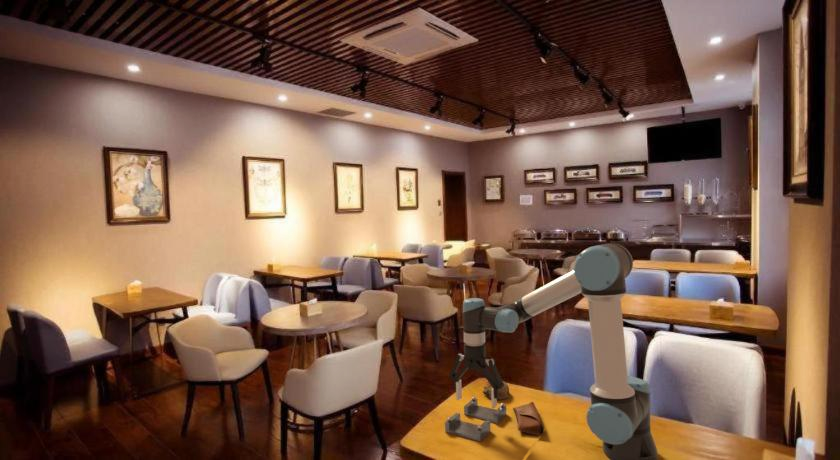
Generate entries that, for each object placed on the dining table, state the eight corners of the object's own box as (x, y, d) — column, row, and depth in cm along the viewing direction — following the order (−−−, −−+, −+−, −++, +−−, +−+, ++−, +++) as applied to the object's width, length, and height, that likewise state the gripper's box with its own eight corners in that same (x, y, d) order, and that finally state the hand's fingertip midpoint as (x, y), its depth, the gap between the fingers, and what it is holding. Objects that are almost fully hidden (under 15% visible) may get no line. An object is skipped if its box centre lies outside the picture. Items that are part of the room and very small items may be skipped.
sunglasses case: (511, 406, 163) (522, 393, 163) (526, 418, 163) (537, 404, 163) (517, 430, 146) (530, 415, 145) (535, 443, 145) (547, 428, 145)
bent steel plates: (506, 414, 161) (505, 402, 161) (480, 441, 142) (479, 428, 142) (474, 407, 168) (473, 395, 168) (445, 432, 149) (444, 419, 149)
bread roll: (504, 410, 171) (513, 392, 170) (480, 396, 173) (489, 379, 172) (504, 399, 181) (513, 383, 180) (481, 387, 182) (490, 370, 181)
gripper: (512, 345, 150) (514, 406, 151) (448, 335, 164) (450, 392, 165) (504, 351, 144) (505, 415, 145) (438, 341, 158) (440, 399, 159)
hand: (476, 402), depth 155 cm, fingers open, 13 cm apart
